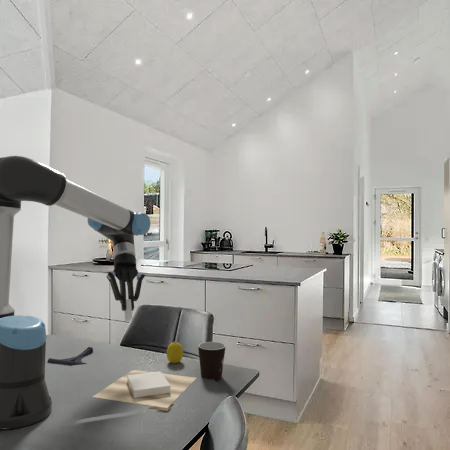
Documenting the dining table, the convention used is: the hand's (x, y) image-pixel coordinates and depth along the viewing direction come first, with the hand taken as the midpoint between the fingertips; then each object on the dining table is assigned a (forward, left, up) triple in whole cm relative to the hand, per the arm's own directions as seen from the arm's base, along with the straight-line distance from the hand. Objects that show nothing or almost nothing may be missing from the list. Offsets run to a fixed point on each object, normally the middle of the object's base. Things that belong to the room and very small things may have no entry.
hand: (128, 319), depth 129 cm
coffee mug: (+6, -27, -17) cm, 33 cm away
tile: (-6, -9, -15) cm, 18 cm away
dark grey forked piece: (+8, +24, -18) cm, 31 cm away
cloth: (-10, -12, -17) cm, 23 cm away
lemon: (+12, -11, -17) cm, 24 cm away
